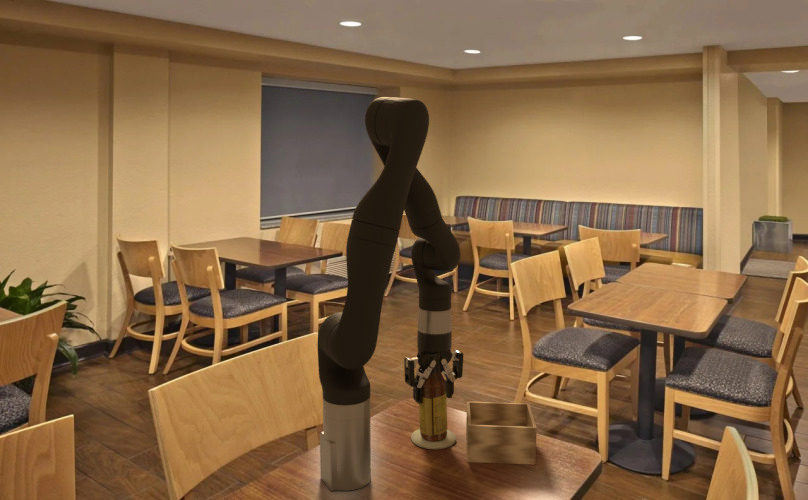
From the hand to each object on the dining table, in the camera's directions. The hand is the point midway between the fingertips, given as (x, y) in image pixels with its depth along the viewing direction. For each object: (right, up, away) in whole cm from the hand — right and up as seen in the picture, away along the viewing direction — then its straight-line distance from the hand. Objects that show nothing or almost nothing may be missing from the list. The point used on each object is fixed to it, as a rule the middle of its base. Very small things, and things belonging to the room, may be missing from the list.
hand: (433, 399), depth 144 cm
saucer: (0, -9, +2) cm, 9 cm away
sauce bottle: (0, -9, +1) cm, 9 cm away
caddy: (+14, -10, -3) cm, 18 cm away
